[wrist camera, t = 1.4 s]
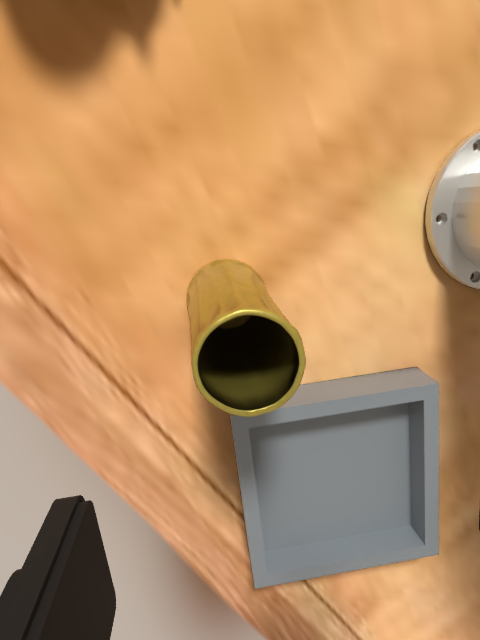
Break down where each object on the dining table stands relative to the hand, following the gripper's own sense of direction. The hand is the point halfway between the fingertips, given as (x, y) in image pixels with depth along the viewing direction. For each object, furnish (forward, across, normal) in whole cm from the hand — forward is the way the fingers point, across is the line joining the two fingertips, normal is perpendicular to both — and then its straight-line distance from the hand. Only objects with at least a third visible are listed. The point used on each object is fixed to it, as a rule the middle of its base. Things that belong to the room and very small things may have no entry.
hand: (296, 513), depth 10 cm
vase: (+24, 0, 0) cm, 24 cm away
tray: (+24, -7, +16) cm, 30 cm away
